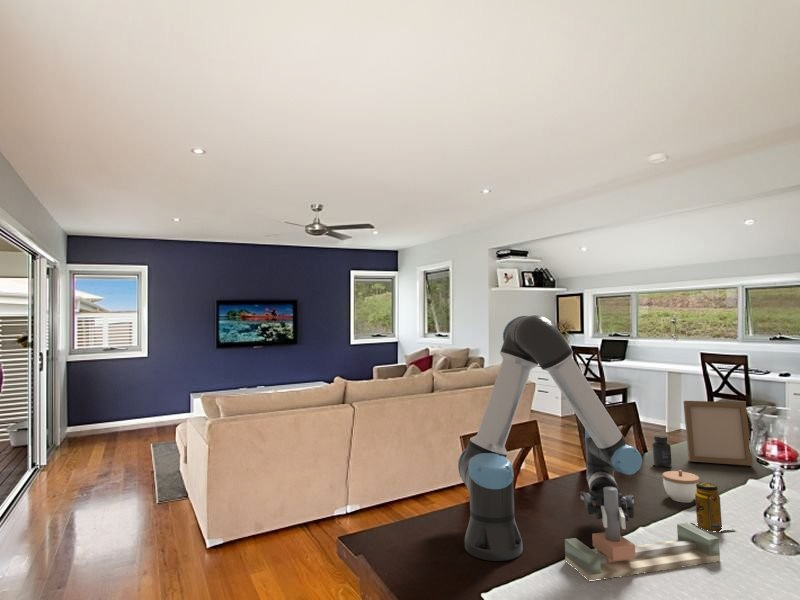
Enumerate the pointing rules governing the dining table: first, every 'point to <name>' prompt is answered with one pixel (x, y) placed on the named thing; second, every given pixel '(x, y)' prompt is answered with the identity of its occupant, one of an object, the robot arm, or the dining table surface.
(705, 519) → the condiment
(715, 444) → the photo frame
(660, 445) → the supplement bottle
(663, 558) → the rail track
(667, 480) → the lidded jar
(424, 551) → the dining table surface
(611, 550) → the carriage
